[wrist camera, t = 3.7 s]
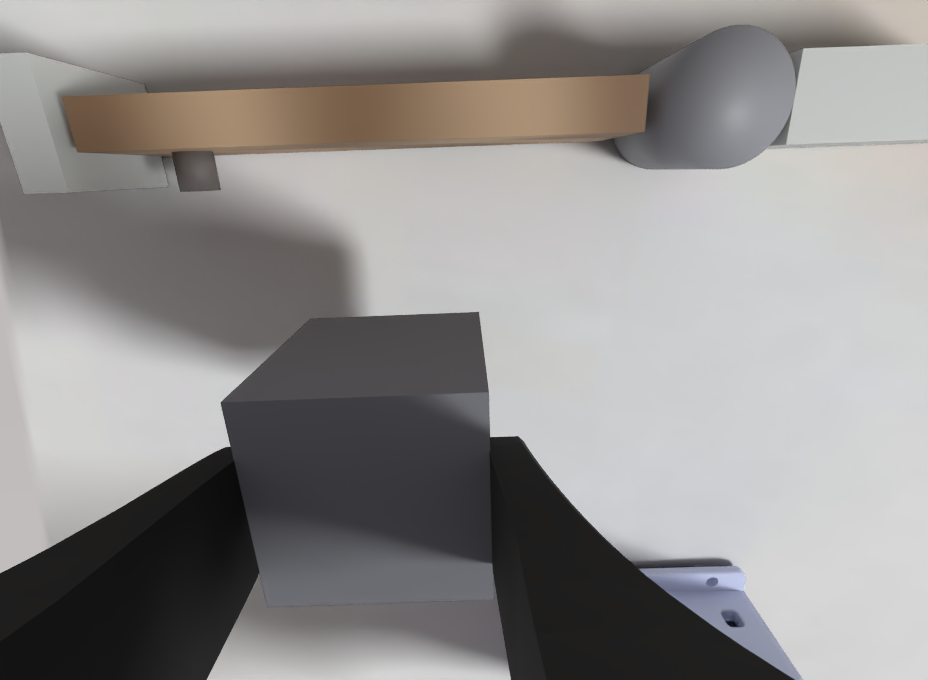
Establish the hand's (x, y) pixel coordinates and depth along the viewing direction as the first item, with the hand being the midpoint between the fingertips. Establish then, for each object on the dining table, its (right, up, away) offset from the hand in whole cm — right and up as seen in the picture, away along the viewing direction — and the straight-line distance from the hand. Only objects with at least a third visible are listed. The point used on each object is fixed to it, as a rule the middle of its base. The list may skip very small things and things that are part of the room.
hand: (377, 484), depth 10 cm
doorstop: (0, +1, +4) cm, 4 cm away
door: (-1, +9, +5) cm, 11 cm away
